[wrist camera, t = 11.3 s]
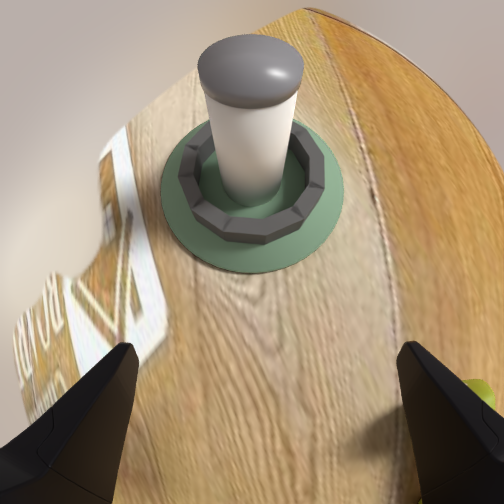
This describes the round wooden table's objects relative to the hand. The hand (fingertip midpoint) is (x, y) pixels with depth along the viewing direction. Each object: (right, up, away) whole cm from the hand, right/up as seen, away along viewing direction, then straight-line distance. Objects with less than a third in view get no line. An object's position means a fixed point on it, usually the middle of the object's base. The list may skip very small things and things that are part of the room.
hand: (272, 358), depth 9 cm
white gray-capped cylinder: (-1, +9, +16) cm, 19 cm away
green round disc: (-1, +9, +16) cm, 19 cm away
